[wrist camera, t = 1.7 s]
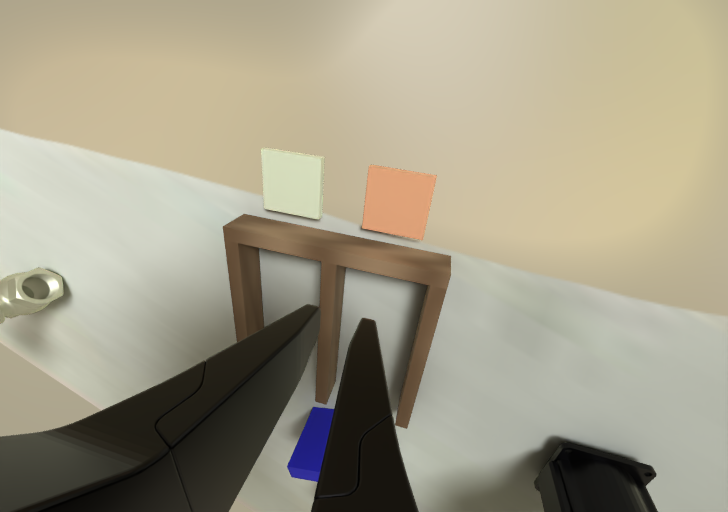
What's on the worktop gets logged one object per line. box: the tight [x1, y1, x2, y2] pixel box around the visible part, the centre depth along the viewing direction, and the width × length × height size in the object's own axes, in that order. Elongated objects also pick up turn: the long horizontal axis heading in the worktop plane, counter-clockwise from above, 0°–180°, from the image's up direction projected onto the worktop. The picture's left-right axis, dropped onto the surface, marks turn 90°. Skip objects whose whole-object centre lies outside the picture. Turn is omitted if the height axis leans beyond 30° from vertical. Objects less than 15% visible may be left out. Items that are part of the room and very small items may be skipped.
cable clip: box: [287, 407, 334, 482], centre depth 31 cm, size 12×4×6 cm, turn 10°
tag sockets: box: [223, 147, 451, 429], centre depth 23 cm, size 15×20×2 cm
